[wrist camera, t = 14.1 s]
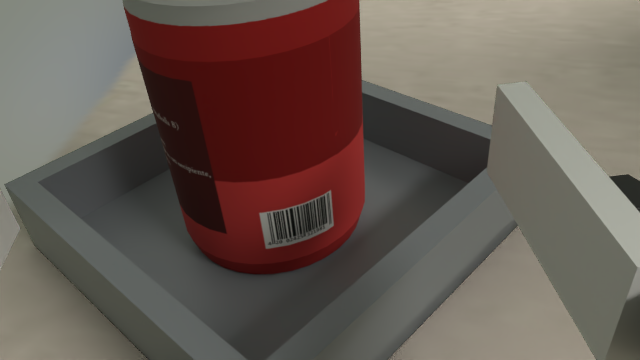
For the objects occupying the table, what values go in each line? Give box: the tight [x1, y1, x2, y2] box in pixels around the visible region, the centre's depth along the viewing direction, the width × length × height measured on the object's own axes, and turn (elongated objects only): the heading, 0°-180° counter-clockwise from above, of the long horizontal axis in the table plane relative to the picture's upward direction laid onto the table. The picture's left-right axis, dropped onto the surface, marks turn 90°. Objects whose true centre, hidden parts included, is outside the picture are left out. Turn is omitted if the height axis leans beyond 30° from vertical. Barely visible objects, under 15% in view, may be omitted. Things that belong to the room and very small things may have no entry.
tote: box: [5, 80, 518, 360], centre depth 25 cm, size 16×16×4 cm
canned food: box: [123, 0, 365, 274], centre depth 22 cm, size 8×8×11 cm
